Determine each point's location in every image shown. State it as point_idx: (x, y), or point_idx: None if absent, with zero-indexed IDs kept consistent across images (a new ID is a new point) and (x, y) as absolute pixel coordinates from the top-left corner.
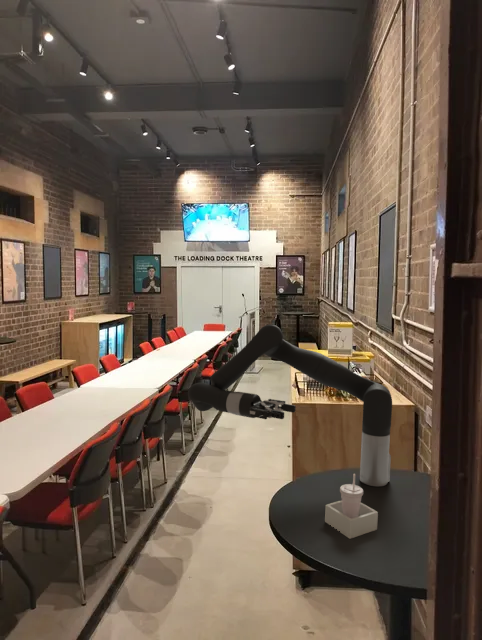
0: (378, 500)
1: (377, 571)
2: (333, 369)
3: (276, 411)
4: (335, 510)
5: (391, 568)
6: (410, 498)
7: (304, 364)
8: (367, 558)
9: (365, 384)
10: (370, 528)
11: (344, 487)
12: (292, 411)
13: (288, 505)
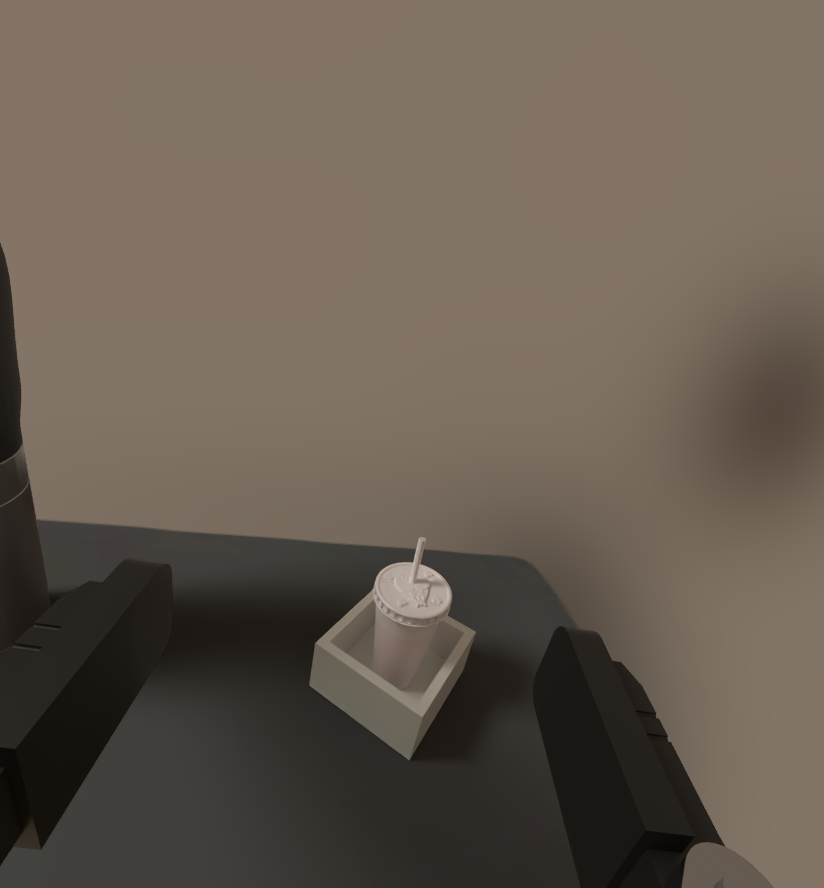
0: (181, 619)
1: (541, 610)
2: None
3: (639, 735)
4: (442, 678)
5: (512, 591)
6: (153, 551)
7: None
8: (514, 628)
9: None
10: None
11: (419, 604)
12: (156, 654)
13: None
